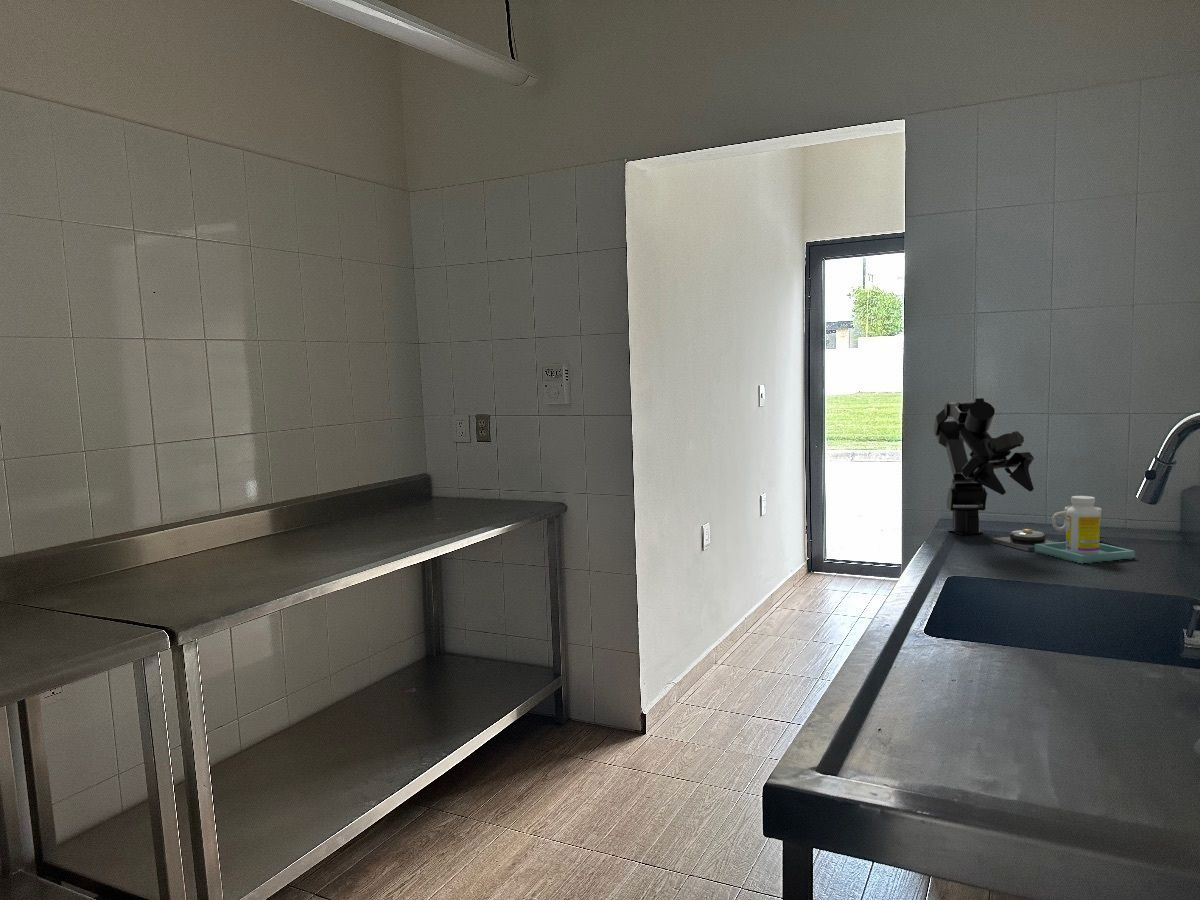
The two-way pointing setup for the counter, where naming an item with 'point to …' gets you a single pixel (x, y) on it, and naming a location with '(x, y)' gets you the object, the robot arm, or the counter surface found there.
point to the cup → (1065, 518)
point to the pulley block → (1023, 539)
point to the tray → (1104, 554)
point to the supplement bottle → (1082, 526)
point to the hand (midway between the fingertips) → (1018, 492)
